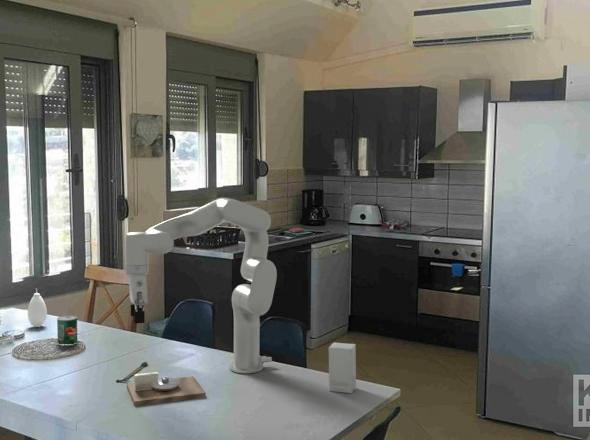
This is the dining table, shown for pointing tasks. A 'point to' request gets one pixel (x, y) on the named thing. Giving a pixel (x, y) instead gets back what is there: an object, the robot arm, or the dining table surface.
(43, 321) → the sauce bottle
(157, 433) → the dining table surface
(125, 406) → the dining table surface
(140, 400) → the dial plate
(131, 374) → the tan handled tool
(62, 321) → the canned tomato
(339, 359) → the skincare box
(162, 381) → the dial
